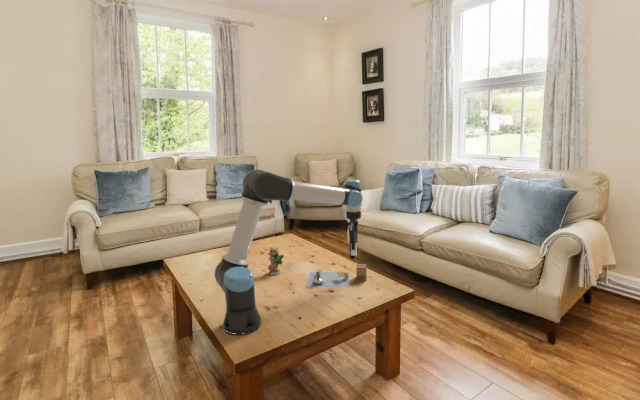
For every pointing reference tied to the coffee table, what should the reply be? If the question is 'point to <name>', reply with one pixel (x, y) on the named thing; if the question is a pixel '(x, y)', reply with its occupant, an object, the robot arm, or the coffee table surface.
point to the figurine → (274, 261)
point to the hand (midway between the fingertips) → (353, 255)
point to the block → (361, 272)
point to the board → (328, 280)
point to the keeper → (343, 275)
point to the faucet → (320, 281)
